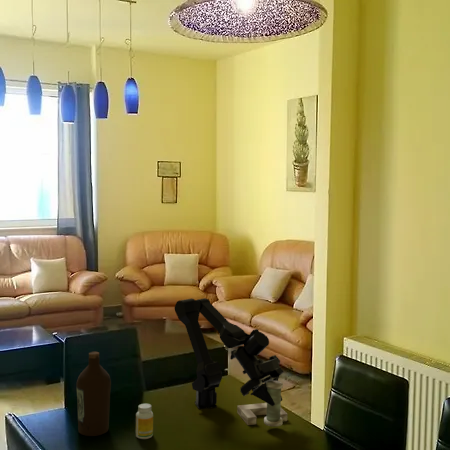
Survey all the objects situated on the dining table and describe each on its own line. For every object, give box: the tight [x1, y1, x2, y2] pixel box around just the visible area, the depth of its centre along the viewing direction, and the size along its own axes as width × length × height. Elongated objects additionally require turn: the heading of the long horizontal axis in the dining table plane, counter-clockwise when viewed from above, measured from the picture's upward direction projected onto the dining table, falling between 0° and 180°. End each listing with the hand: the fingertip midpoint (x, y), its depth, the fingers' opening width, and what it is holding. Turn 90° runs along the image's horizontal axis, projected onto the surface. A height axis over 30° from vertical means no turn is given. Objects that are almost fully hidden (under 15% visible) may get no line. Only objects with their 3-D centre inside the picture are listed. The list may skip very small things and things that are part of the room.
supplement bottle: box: [135, 403, 154, 440], centre depth 186 cm, size 5×5×10 cm
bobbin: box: [263, 380, 284, 427], centre depth 193 cm, size 6×6×13 cm
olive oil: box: [75, 351, 112, 437], centre depth 189 cm, size 11×11×25 cm
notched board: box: [236, 402, 288, 426], centre depth 203 cm, size 14×11×2 cm
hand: (277, 403), depth 192 cm, fingers closed on bobbin, 4 cm apart
